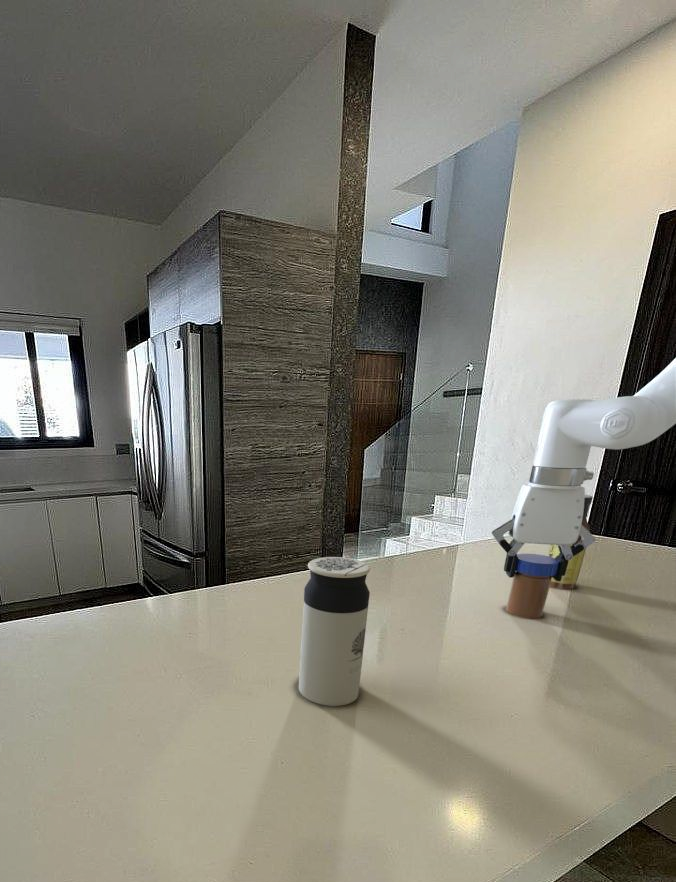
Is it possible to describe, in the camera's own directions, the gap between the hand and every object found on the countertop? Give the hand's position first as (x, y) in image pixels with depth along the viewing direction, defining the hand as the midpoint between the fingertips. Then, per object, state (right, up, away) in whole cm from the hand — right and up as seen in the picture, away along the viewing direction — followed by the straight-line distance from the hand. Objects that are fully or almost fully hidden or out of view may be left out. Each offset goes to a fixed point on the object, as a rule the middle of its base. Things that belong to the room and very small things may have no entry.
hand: (532, 576), depth 88 cm
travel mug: (-42, -17, -23) cm, 51 cm away
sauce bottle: (+17, -2, +17) cm, 24 cm away
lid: (0, +3, -1) cm, 3 cm away
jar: (0, -7, +3) cm, 8 cm away
